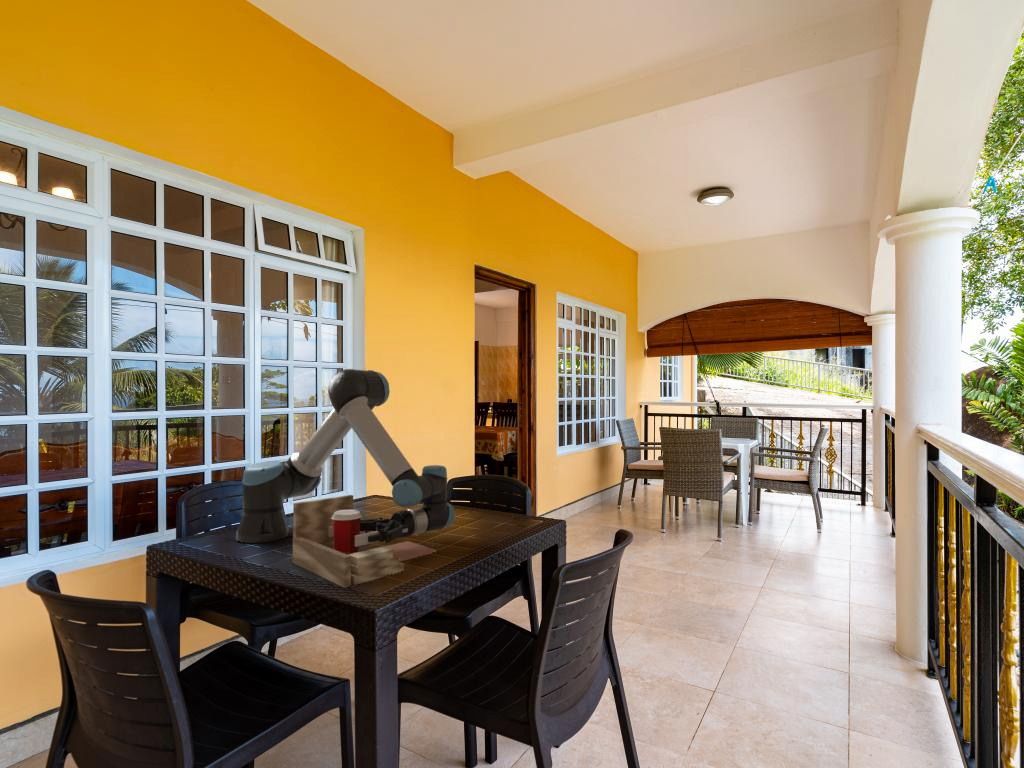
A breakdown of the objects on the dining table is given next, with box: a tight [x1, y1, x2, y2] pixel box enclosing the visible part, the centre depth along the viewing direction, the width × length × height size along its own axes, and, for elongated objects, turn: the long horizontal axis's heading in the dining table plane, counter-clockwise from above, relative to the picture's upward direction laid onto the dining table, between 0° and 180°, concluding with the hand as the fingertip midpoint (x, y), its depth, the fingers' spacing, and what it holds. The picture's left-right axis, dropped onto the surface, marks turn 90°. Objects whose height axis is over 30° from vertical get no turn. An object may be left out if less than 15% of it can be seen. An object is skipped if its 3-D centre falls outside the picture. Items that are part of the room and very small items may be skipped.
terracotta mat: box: [383, 540, 438, 563], centre depth 155 cm, size 14×14×1 cm
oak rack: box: [292, 494, 354, 589], centre depth 143 cm, size 17×28×16 cm, turn 46°
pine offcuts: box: [348, 546, 405, 586], centre depth 135 cm, size 14×5×6 cm, turn 136°
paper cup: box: [331, 509, 363, 555], centre depth 144 cm, size 8×8×14 cm
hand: (341, 536), depth 143 cm, fingers open, 13 cm apart
